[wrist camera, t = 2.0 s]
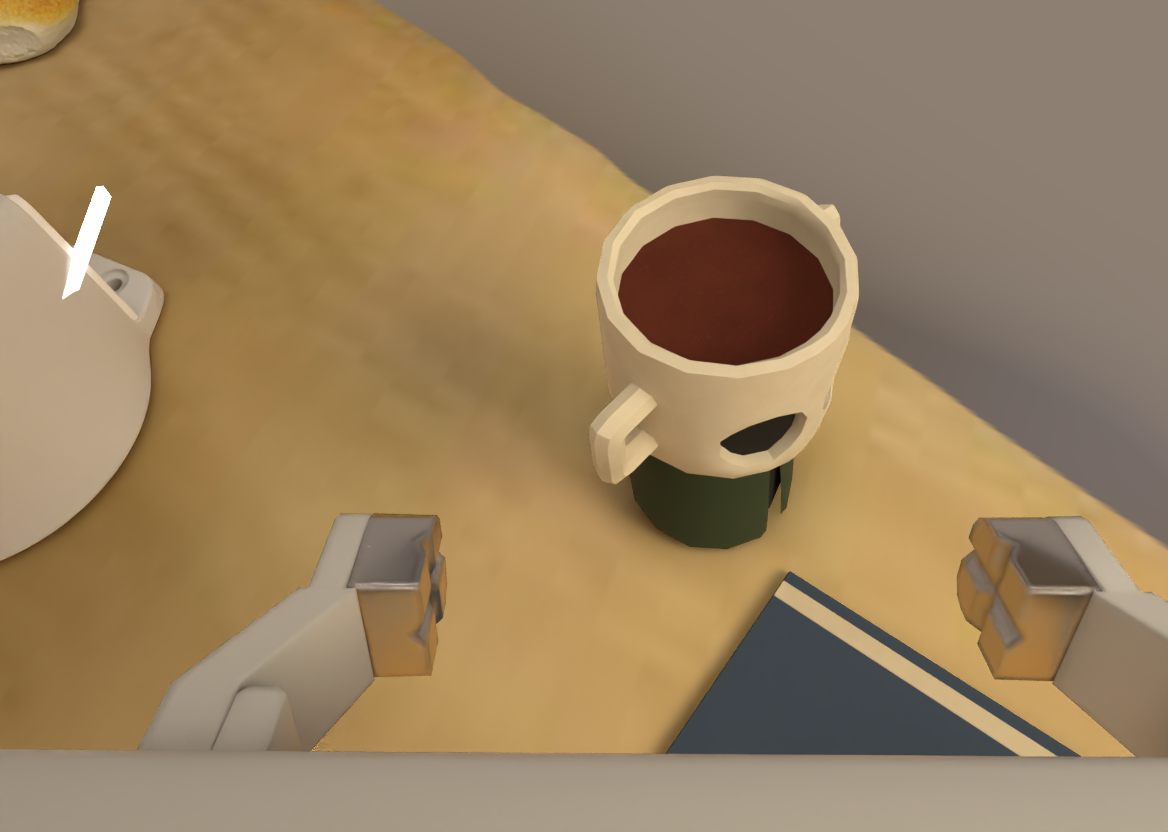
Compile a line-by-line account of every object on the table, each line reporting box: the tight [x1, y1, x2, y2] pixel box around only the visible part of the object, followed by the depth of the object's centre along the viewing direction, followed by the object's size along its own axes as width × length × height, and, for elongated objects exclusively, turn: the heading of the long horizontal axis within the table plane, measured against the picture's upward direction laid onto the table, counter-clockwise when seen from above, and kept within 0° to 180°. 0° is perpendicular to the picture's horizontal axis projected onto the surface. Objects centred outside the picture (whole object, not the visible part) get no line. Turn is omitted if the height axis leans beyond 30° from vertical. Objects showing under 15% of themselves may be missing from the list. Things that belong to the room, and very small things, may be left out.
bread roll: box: [0, 0, 80, 64], centre depth 53 cm, size 8×9×4 cm
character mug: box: [589, 176, 859, 549], centre depth 29 cm, size 11×7×13 cm, turn 136°
